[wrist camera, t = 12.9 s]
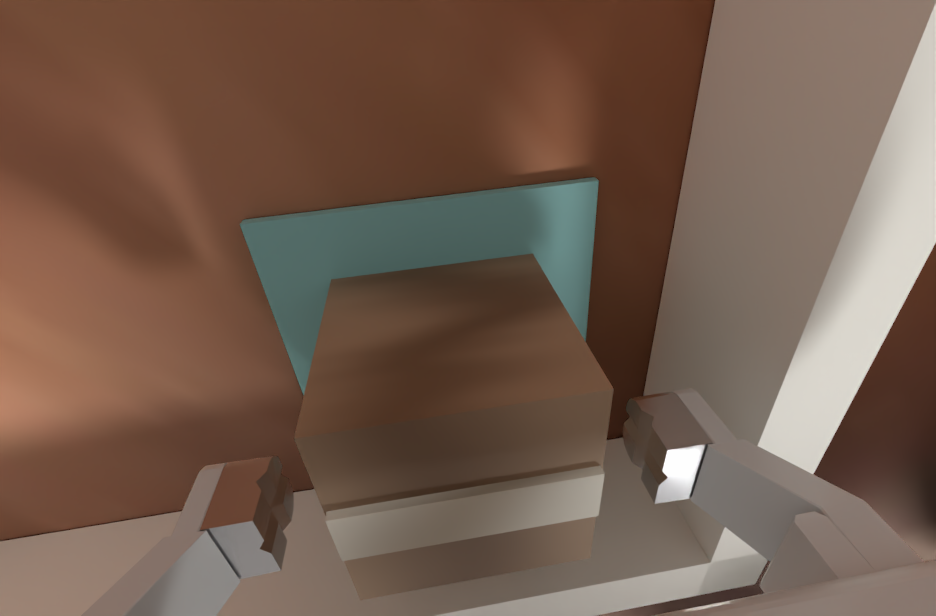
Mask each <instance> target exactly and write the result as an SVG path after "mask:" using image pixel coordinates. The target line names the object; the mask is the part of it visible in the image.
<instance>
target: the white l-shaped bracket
mask: <svg viewBox="0 0 936 616" xmlns="http://www.w3.org/2000/svg"><path fill="white" fill-rule="evenodd" d="M935 243H936V0H715V5H714V11H713V16H712V22H711V27H710V32H709V38H708V43H707V49H706V54H705V60H704V65H703V71H702V76H701V82H700V87H699V93H698V98H697V104H696V109H695V115H694V120H693V126H692V131H691V137H690V142H689V148H688V153H687V159H686V164H685V170H684V175H683V181H682V186H681V191H680V197H679V202H678V208H677V213H676V219H675V224H674V230H673V235H672V241H671V246H670V252H669V257H668V263H667V268H666V274H665V279H664V285H663V290H662V296H661V301H660V307H659V312H658V318H657V323H656V329H655V334H654V340H653V345H652V350H651V356H650V361H649V367H648V372H647V378H646V383H645V389H644V394H643V396H646V395H652V394H658V393H664V392H671V391H677V390H683V389H689V388H692V389H694V390H696V391H697V392H698V393H699V394H700V396H701V397H702V398H703V399H704V400H705V402H706V403H707V404H708V405H709V406H710V408H711V409H712V410H713V411H714V412H715V414H716V415H717V416H718V417H719V418H720V420H721V421H722V422H723V423H724V424H725V426H726V427H727V428H728V429H729V430H730V432H731V433H732V434H733V435H734V436H735V438H736V439H737V440H739V439H745V440H747V441H749V442H751V443H753V444H755V445H757V446H759V447H761V448H762V449H764V450H766V451H768V452H770V453H772V454H774V455H776V456H778V457H780V458H782V459H784V460H786V461H788V462H790V463H792V464H794V465H796V466H798V467H800V468H802V469H804V470H805V471H807V472H809V473H811V474H814V472H815V470H816V468H817V466H818V465H819V463H820V461H821V459H822V457H823V455H824V453H825V451H826V449H827V448H828V446H829V444H830V442H831V440H832V438H833V436H834V434H835V432H836V431H837V429H838V427H839V425H840V423H841V421H842V419H843V417H844V415H845V413H846V412H847V410H848V408H849V406H850V404H851V402H852V400H853V398H854V396H855V395H856V393H857V391H858V389H859V387H860V385H861V383H862V381H863V379H864V378H865V376H866V374H867V372H868V370H869V368H870V366H871V364H872V362H873V360H874V359H875V357H876V355H877V353H878V351H879V349H880V347H881V345H882V343H883V342H884V340H885V338H886V336H887V334H888V332H889V330H890V328H891V326H892V325H893V323H894V321H895V319H896V317H897V315H898V313H899V311H900V309H901V307H902V306H903V304H904V302H905V300H906V298H907V296H908V294H909V292H910V290H911V289H912V287H913V285H914V283H915V281H916V279H917V277H918V275H919V273H920V272H921V270H922V268H923V266H924V264H925V262H926V260H927V258H928V256H929V255H930V253H931V251H932V249H933V247H934V245H935ZM603 471H604V474H605V475H604V482H603V489H602V496H601V503H600V510H599V516H596V520H595V527H594V535H593V542H592V549H591V556H590V558H588V559H583V560H577V561H572V562H566V563H561V564H556V565H550V566H545V567H539V568H534V569H528V570H523V571H518V572H512V573H507V574H501V575H496V576H490V577H485V578H479V579H474V580H469V581H463V582H458V583H452V584H447V585H441V586H436V587H431V588H425V589H420V590H414V591H409V592H403V593H398V594H393V595H387V596H382V597H376V598H371V599H365V600H360V599H359V596H358V594H357V591H356V589H355V587H354V584H353V582H352V579H351V577H350V574H349V572H348V570H347V567H346V565H345V562H344V561H342V560H341V558H340V556H339V553H338V551H337V548H336V546H335V544H334V541H333V539H332V536H331V534H330V532H329V529H328V527H327V524H326V522H325V519H326V516H325V514H324V511H323V509H322V506H321V504H320V501H319V499H318V497H317V494H316V492H315V489H312V490H306V491H300V492H294V493H293V495H294V509H293V515H292V520H291V522H290V523H289V524H288V526H287V527H286V528H285V529H284V530H283V533H284V535H285V537H286V539H287V545H286V550H285V554H284V559H283V564H282V569H281V571H277V572H272V573H268V574H263V575H258V576H253V577H248V578H244V579H240V583H239V585H238V586H237V587H236V589H235V590H234V592H233V593H232V594H231V596H230V597H229V599H228V600H227V601H226V603H225V604H224V606H223V607H222V608H221V610H220V611H219V613H218V614H217V615H216V616H596V615H601V614H606V613H611V612H616V611H621V610H627V609H632V608H637V607H642V606H647V605H652V604H657V603H662V602H667V601H672V600H677V599H682V598H688V597H693V596H698V595H703V594H708V593H713V592H718V591H723V590H728V589H733V588H738V587H744V586H749V585H754V584H756V582H757V580H758V578H759V576H760V574H761V572H762V571H763V569H764V567H765V565H766V563H767V561H768V560H767V559H766V558H764V557H763V556H762V555H761V554H759V553H758V552H757V551H755V550H754V549H753V548H752V547H750V546H749V545H748V544H746V543H745V542H744V541H742V540H741V539H740V538H739V537H737V536H736V535H735V534H733V533H732V532H731V531H730V530H728V529H727V528H726V527H724V526H723V525H722V524H721V523H719V522H718V521H717V520H715V519H714V518H713V517H711V516H710V515H709V514H708V513H706V512H705V511H704V510H702V509H701V508H700V507H699V506H697V505H696V504H695V503H693V502H692V501H691V499H684V500H677V501H671V502H664V503H657V504H654V502H653V500H652V498H651V496H650V494H649V493H648V491H647V489H646V487H645V485H644V484H643V482H642V480H641V476H642V471H643V469H641V468H640V467H638V466H636V465H635V464H633V463H632V461H631V459H630V458H629V456H628V454H627V451H626V448H625V445H624V440H623V438H617V439H611V440H607V441H606V448H605V455H604V463H603ZM181 512H182V511H180V512H174V513H168V514H162V515H156V516H150V517H144V518H138V519H132V520H126V521H120V522H114V523H108V524H102V525H96V526H90V527H84V528H78V529H72V530H66V531H60V532H54V533H48V534H42V535H36V536H30V537H24V538H18V539H12V540H6V541H0V616H81V615H82V614H83V613H84V612H85V611H87V610H88V609H89V608H90V607H91V606H92V605H93V604H94V603H95V602H96V601H97V600H98V599H99V598H100V597H101V596H102V595H103V594H105V593H106V592H107V591H108V590H109V589H110V588H111V587H112V586H113V585H114V584H115V583H116V582H117V581H118V580H119V579H120V578H121V577H122V576H124V575H125V574H126V573H127V572H128V571H129V570H130V569H131V568H132V567H133V566H134V565H135V564H136V563H137V562H138V561H139V560H140V559H141V558H143V557H144V556H145V555H146V554H147V553H148V552H149V551H150V550H151V549H152V548H153V547H154V546H155V545H156V544H157V543H158V542H159V541H160V540H162V539H163V538H164V537H169V536H171V535H172V533H173V530H174V528H175V526H176V523H177V521H178V519H179V516H180V514H181Z"/></svg>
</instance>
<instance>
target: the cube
mask: <svg viewBox="0 0 936 616" xmlns="http://www.w3.org/2000/svg"><path fill="white" fill-rule="evenodd" d="M613 391H614V389H613V387H612V385H611V384H610V382H609V380H608V379H607V377H606V375H605V374H604V372H603V370H602V369H601V367H600V365H599V364H598V362H597V360H596V359H595V357H594V355H593V354H592V352H591V350H590V348H589V347H588V345H587V343H586V342H585V340H584V338H583V337H582V335H581V333H580V332H579V330H578V328H577V327H576V325H575V323H574V322H573V320H572V318H571V317H570V315H569V313H568V312H567V310H566V308H565V307H564V305H563V303H562V302H561V300H560V298H559V297H558V295H557V293H556V292H555V290H554V288H553V287H552V285H551V283H550V282H549V280H548V278H547V277H546V275H545V273H544V271H543V270H542V268H541V266H540V265H539V263H538V261H537V260H536V258H535V256H534V255H533V253H532V254H525V255H517V256H509V257H501V258H493V259H486V260H478V261H470V262H462V263H455V264H447V265H439V266H431V267H424V268H416V269H408V270H400V271H392V272H385V273H377V274H369V275H361V276H354V277H346V278H338V279H331V282H330V286H329V291H328V295H327V299H326V303H325V308H324V312H323V316H322V320H321V325H320V329H319V333H318V337H317V342H316V346H315V350H314V354H313V359H312V363H311V367H310V371H309V376H308V380H307V384H306V388H305V393H304V397H303V401H302V405H301V410H300V414H299V418H298V422H297V427H296V431H295V435H294V441H295V443H296V445H297V448H298V450H299V453H300V455H301V458H302V460H303V462H304V465H305V467H306V470H307V472H308V475H309V477H310V479H311V482H312V484H313V487H314V489H315V492H316V494H317V497H318V499H319V501H320V504H321V506H322V509H323V511H324V514H325V516H326V519H325V522H326V524H327V527H328V529H329V532H330V534H331V536H332V539H333V541H334V544H335V546H336V548H337V551H338V553H339V556H340V558H341V560H342V561H344V562H345V565H346V567H347V570H348V572H349V574H350V577H351V579H352V582H353V584H354V587H355V589H356V591H357V594H358V596H359V599H360V600H365V599H371V598H376V597H382V596H387V595H393V594H398V593H403V592H409V591H414V590H420V589H425V588H431V587H436V586H441V585H447V584H452V583H458V582H463V581H469V580H474V579H479V578H485V577H490V576H496V575H501V574H507V573H512V572H518V571H523V570H528V569H534V568H539V567H545V566H550V565H556V564H561V563H566V562H572V561H577V560H583V559H588V558H590V556H591V549H592V542H593V535H594V527H595V520H596V516H599V510H600V503H601V496H602V489H603V482H604V475H605V474H604V471H603V463H604V455H605V448H606V441H607V434H608V427H609V419H610V412H611V405H612V398H613Z"/></svg>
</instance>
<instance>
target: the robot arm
mask: <svg viewBox="0 0 936 616" xmlns="http://www.w3.org/2000/svg"><path fill="white" fill-rule="evenodd" d="M626 411H627V413H628V415H629V418H628V420H627V421H626V422H625V423H624V425H623V440H624V445H625V448H626V451H627V454H628V456H629V458H630V459H631V461H632V463H633V464H635V465H636V466H638V467H640V468H641V469H643V471H642V476H641V480H642V482H643V484H644V485H645V487H646V489H647V491H648V493H649V494H650V496H651V498H652V500H653V502H654V504H657V503H664V502H671V501H677V500H684V499H691V501H692V502H693V503H695V504H696V505H697V506H699V507H700V508H701V509H702V510H704V511H705V512H706V513H708V514H709V515H710V516H711V517H713V518H714V519H715V520H717V521H718V522H719V523H721V524H722V525H723V526H724V527H726V528H727V529H728V530H730V531H731V532H732V533H733V534H735V535H736V536H737V537H739V538H740V539H741V540H742V541H744V542H745V543H746V544H748V545H749V546H750V547H752V548H753V549H754V550H755V551H757V552H758V553H759V554H761V555H762V556H763V557H764V558H766V559H767V560H768V561H770V564H769V566H768V568H767V570H766V572H765V574H764V576H763V578H762V580H761V583H760V588H761V589H762V591H763V592H764V594H759V595H754V596H749V597H744V598H739V599H734V600H729V601H724V602H719V603H714V604H709V605H704V606H698V607H693V608H688V609H683V610H678V611H673V612H668V613H663V614H658V615H653V616H936V560H931V561H926V562H924V561H923V560H922V559H921V558H920V557H919V556H918V555H917V554H916V553H915V552H914V551H913V550H912V549H911V548H910V547H909V546H908V545H907V543H906V542H905V541H904V540H903V539H902V538H901V537H900V536H899V535H898V534H897V533H896V532H895V531H894V530H893V529H892V528H891V527H890V526H889V525H888V524H887V523H886V522H885V521H884V520H883V519H882V518H881V517H880V516H879V515H878V514H877V513H876V512H875V511H874V510H873V509H872V508H871V507H870V506H869V505H868V504H867V503H866V502H865V501H864V500H862V499H860V498H858V497H856V496H854V495H852V494H850V493H849V492H847V491H845V490H843V489H841V488H839V487H837V486H835V485H833V484H831V483H829V482H827V481H825V480H823V479H821V478H819V477H817V476H815V475H813V474H811V473H809V472H807V471H805V470H804V469H802V468H800V467H798V466H796V465H794V464H792V463H790V462H788V461H786V460H784V459H782V458H780V457H778V456H776V455H774V454H772V453H770V452H768V451H766V450H764V449H762V448H761V447H759V446H757V445H755V444H753V443H751V442H749V441H747V440H745V439H739V440H737V439H736V438H735V436H734V435H733V434H732V433H731V432H730V430H729V429H728V428H727V427H726V426H725V424H724V423H723V422H722V421H721V420H720V418H719V417H718V416H717V415H716V414H715V412H714V411H713V410H712V409H711V408H710V406H709V405H708V404H707V403H706V402H705V400H704V399H703V398H702V397H701V396H700V394H699V393H698V392H697V391H696V390H694V389H692V388H689V389H683V390H677V391H671V392H664V393H658V394H652V395H646V396H641V397H635V398H630V399H629V400H628V402H627V406H626ZM281 470H282V464H281V462H280V460H279V458H278V456H270V457H262V458H255V459H247V460H240V461H233V462H227V463H220V464H213V465H206V466H204V467H203V468H202V469H201V470H200V471H199V473H198V475H197V477H196V480H195V482H194V484H193V487H192V489H191V491H190V493H189V496H188V498H187V500H186V503H185V505H184V507H183V510H182V512H181V514H180V516H179V519H178V521H177V523H176V526H175V528H174V530H173V533H172V535H171V536H169V537H164V538H163V539H162V540H160V541H159V542H158V543H157V544H156V545H155V546H154V547H153V548H152V549H151V550H150V551H149V552H148V553H147V554H146V555H145V556H144V557H143V558H141V559H140V560H139V561H138V562H137V563H136V564H135V565H134V566H133V567H132V568H131V569H130V570H129V571H128V572H127V573H126V574H125V575H124V576H122V577H121V578H120V579H119V580H118V581H117V582H116V583H115V584H114V585H113V586H112V587H111V588H110V589H109V590H108V591H107V592H106V593H105V594H103V595H102V596H101V597H100V598H99V599H98V600H97V601H96V602H95V603H94V604H93V605H92V606H91V607H90V608H89V609H88V610H87V611H85V612H84V613H83V614H82V615H81V616H216V615H217V614H218V613H219V611H220V610H221V608H222V607H223V606H224V604H225V603H226V601H227V600H228V599H229V597H230V596H231V594H232V593H233V592H234V590H235V589H236V587H237V586H238V585H239V583H240V579H244V578H248V577H253V576H258V575H263V574H268V573H272V572H277V571H281V569H282V564H283V559H284V554H285V550H286V545H287V539H286V537H285V535H284V533H283V530H284V529H285V528H286V527H287V526H288V524H289V523H290V522H291V520H292V515H293V509H294V495H293V490H292V486H291V483H290V481H289V479H288V478H286V477H284V476H283V475H281Z"/></svg>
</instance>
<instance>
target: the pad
mask: <svg viewBox="0 0 936 616" xmlns="http://www.w3.org/2000/svg"><path fill="white" fill-rule="evenodd" d="M598 184H599V180H598V179H596V178H595V177H591V178H583V179H575V180H567V181H558V182H550V183H542V184H534V185H525V186H517V187H509V188H501V189H492V190H484V191H476V192H468V193H460V194H451V195H443V196H435V197H427V198H418V199H410V200H402V201H394V202H385V203H377V204H369V205H361V206H352V207H344V208H336V209H328V210H319V211H311V212H303V213H295V214H287V215H278V216H270V217H262V218H254V219H245V220H242V222H241V223H240V227H241V229H242V232H243V235H244V237H245V240H246V243H247V245H248V248H249V251H250V254H251V256H252V259H253V262H254V264H255V267H256V270H257V272H258V275H259V278H260V280H261V283H262V286H263V288H264V291H265V294H266V296H267V299H268V302H269V304H270V307H271V310H272V313H273V315H274V318H275V321H276V323H277V326H278V329H279V331H280V334H281V337H282V339H283V342H284V345H285V347H286V350H287V353H288V355H289V358H290V361H291V363H292V366H293V369H294V371H295V374H296V377H297V380H298V382H299V385H300V388H301V390H302V393H303V396H304V393H305V388H306V384H307V380H308V376H309V371H310V367H311V363H312V359H313V354H314V350H315V346H316V342H317V337H318V333H319V329H320V325H321V320H322V316H323V312H324V308H325V303H326V299H327V295H328V291H329V286H330V282H331V279H338V278H346V277H354V276H361V275H369V274H377V273H385V272H392V271H400V270H408V269H416V268H424V267H431V266H439V265H447V264H455V263H462V262H470V261H478V260H486V259H493V258H501V257H509V256H517V255H525V254H532V253H533V255H534V256H535V258H536V260H537V261H538V263H539V265H540V266H541V268H542V270H543V271H544V273H545V275H546V277H547V278H548V280H549V282H550V283H551V285H552V287H553V288H554V290H555V292H556V293H557V295H558V297H559V298H560V300H561V302H562V303H563V305H564V307H565V308H566V310H567V312H568V313H569V315H570V317H571V318H572V320H573V322H574V323H575V325H576V327H577V328H578V330H579V332H580V333H581V335H582V337H583V338H584V340H585V342H586V332H587V320H588V308H589V295H590V283H591V271H592V258H593V246H594V234H595V221H596V209H597V197H598Z"/></svg>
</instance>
